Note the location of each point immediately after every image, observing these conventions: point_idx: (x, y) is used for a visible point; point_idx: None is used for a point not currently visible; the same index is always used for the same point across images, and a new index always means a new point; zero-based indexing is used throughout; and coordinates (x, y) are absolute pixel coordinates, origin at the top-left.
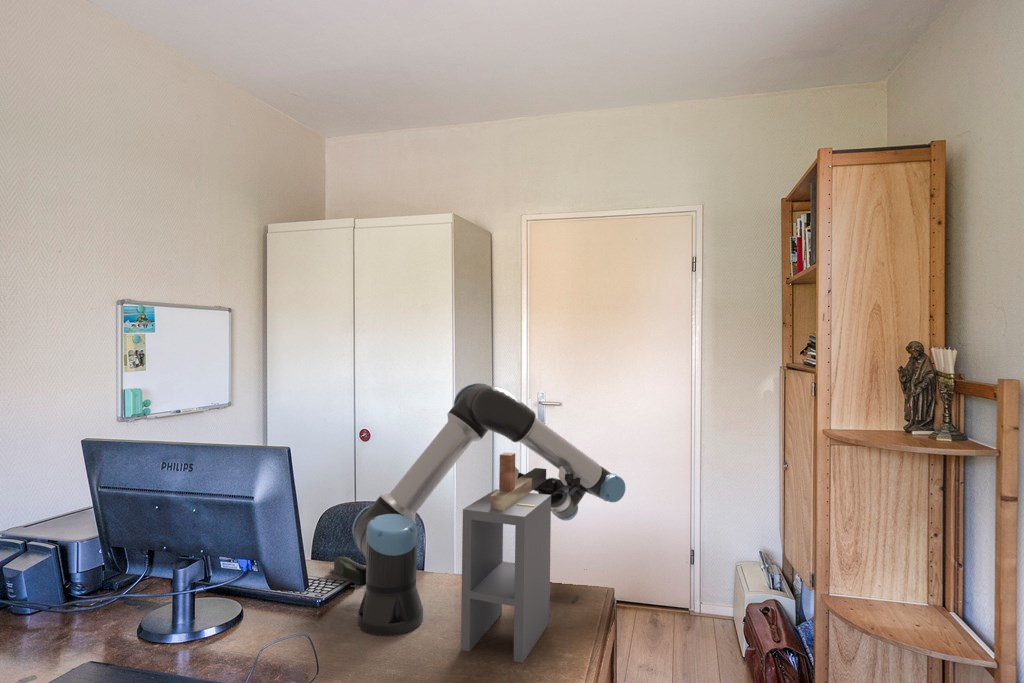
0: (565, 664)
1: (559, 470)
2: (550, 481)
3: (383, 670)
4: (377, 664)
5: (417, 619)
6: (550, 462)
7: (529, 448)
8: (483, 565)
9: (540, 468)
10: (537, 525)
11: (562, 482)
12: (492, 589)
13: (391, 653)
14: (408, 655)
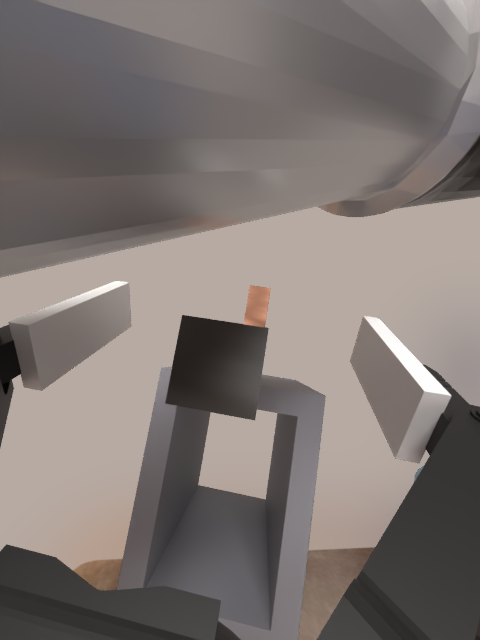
0: (100, 580)
1: (129, 300)
2: (40, 562)
3: (325, 555)
4: (341, 564)
5: None
6: (144, 244)
7: (329, 202)
8: (270, 502)
9: (227, 322)
10: None
11: (79, 362)
12: (236, 503)
13: (348, 587)
14: (325, 584)
